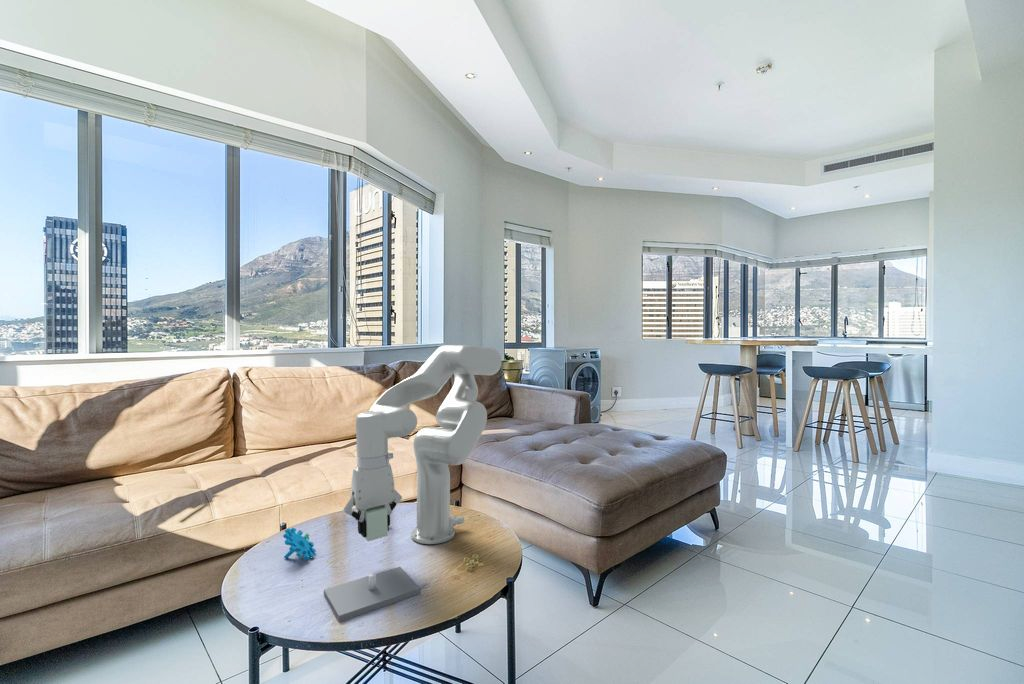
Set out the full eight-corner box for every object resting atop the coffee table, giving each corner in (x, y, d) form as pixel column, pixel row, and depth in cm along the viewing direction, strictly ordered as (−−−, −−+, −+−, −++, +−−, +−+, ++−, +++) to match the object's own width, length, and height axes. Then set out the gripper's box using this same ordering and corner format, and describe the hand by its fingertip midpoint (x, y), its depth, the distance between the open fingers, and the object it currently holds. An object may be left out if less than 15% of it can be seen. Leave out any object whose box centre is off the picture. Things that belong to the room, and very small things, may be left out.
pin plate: (399, 571, 114) (400, 554, 114) (420, 593, 105) (420, 574, 105) (323, 594, 104) (323, 576, 104) (338, 621, 94) (338, 601, 94)
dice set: (467, 574, 115) (467, 566, 114) (459, 565, 119) (459, 557, 119) (485, 569, 117) (485, 561, 117) (477, 560, 121) (477, 553, 121)
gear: (307, 561, 116) (281, 531, 117) (290, 578, 115) (263, 549, 116) (324, 547, 127) (299, 520, 128) (307, 563, 126) (283, 536, 127)
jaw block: (380, 528, 121) (379, 502, 120) (387, 535, 116) (387, 508, 116) (361, 534, 118) (360, 506, 117) (368, 541, 114) (367, 513, 113)
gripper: (399, 452, 124) (400, 518, 125) (333, 464, 114) (335, 536, 115) (410, 458, 118) (412, 528, 119) (342, 471, 108) (344, 547, 109)
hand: (374, 531), depth 117 cm, fingers closed on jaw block, 5 cm apart
